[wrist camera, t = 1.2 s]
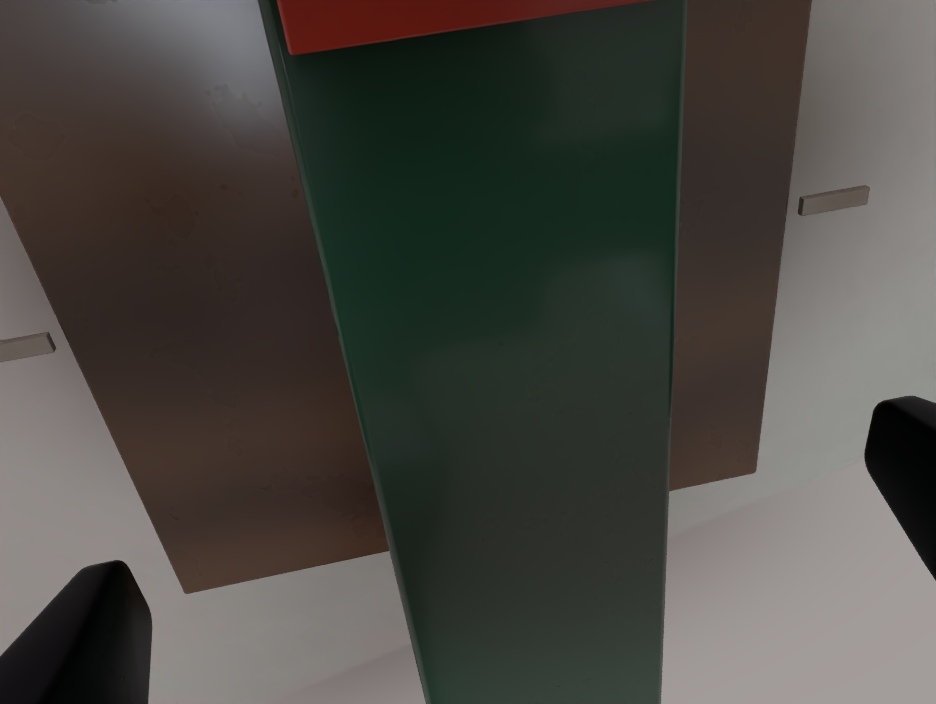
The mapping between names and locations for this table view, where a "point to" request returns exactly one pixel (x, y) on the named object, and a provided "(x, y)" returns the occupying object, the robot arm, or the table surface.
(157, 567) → the table surface
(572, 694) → the book
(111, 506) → the table surface
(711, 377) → the brown wooden square board
